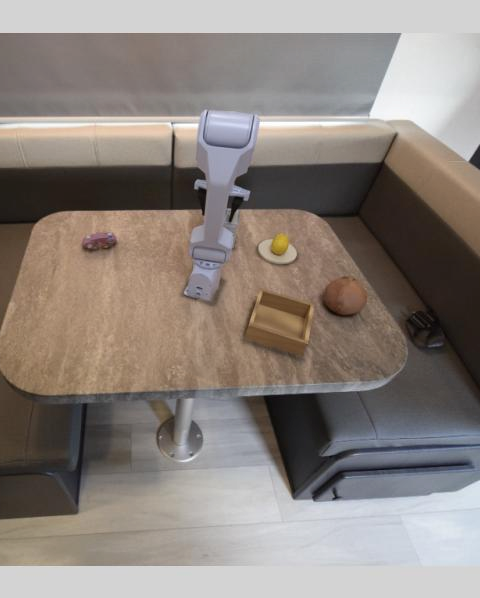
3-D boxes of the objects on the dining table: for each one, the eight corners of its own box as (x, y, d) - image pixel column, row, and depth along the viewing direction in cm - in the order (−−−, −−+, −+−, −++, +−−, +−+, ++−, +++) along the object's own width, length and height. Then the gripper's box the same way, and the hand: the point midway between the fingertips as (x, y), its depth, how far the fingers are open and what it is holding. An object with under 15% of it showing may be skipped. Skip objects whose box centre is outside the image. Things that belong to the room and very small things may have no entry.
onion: (327, 305, 92) (337, 268, 89) (366, 317, 86) (378, 278, 83) (312, 312, 86) (323, 273, 82) (353, 326, 80) (366, 283, 76)
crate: (300, 358, 77) (308, 343, 73) (243, 339, 80) (248, 324, 76) (307, 318, 85) (314, 303, 81) (255, 303, 88) (260, 288, 84)
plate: (293, 268, 98) (294, 266, 97) (254, 258, 101) (254, 256, 100) (298, 246, 105) (299, 244, 104) (262, 237, 108) (262, 235, 107)
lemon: (283, 259, 99) (289, 247, 96) (267, 254, 100) (273, 241, 97) (287, 246, 104) (293, 233, 101) (272, 241, 105) (277, 228, 101)
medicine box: (233, 249, 103) (238, 224, 97) (218, 247, 103) (222, 222, 97) (234, 234, 108) (240, 209, 102) (220, 232, 109) (224, 207, 103)
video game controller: (84, 255, 102) (82, 244, 95) (81, 241, 103) (79, 230, 97) (117, 250, 104) (118, 239, 97) (114, 237, 105) (115, 225, 99)
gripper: (256, 169, 89) (246, 216, 99) (202, 158, 93) (197, 204, 102) (250, 181, 84) (239, 229, 94) (193, 169, 88) (189, 216, 98)
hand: (217, 217), depth 98 cm, fingers open, 7 cm apart
